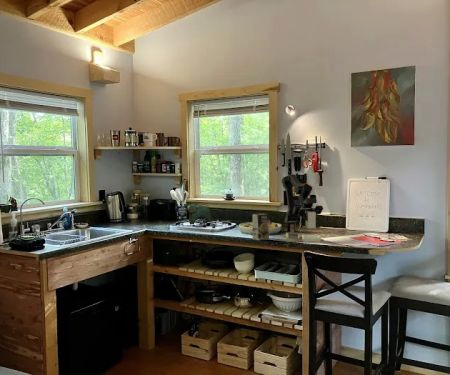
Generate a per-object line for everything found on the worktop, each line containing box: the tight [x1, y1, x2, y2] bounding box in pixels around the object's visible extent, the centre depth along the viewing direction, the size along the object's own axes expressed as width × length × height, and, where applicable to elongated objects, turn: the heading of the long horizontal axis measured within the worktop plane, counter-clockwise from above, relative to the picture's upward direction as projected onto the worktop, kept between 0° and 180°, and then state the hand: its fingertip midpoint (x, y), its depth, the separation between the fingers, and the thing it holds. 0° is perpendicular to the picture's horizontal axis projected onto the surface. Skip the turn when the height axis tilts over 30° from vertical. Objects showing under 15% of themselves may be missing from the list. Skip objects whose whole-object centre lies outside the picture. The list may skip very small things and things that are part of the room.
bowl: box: [238, 219, 282, 235], centre depth 296 cm, size 30×30×8 cm
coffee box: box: [252, 212, 270, 241], centre depth 267 cm, size 9×6×16 cm
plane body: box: [285, 225, 301, 243], centre depth 266 cm, size 19×8×8 cm, turn 173°
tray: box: [301, 234, 322, 243], centre depth 261 cm, size 11×11×2 cm
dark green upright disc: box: [187, 199, 213, 224], centre depth 327 cm, size 20×6×20 cm, turn 119°
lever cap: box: [305, 211, 317, 229], centre depth 261 cm, size 4×5×10 cm
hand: (311, 220), depth 259 cm, fingers closed on lever cap, 5 cm apart
